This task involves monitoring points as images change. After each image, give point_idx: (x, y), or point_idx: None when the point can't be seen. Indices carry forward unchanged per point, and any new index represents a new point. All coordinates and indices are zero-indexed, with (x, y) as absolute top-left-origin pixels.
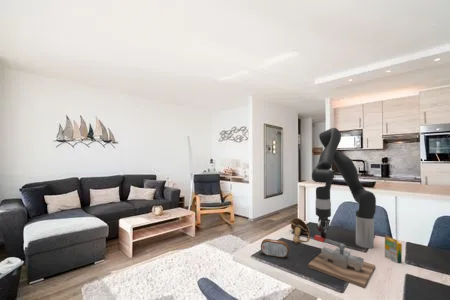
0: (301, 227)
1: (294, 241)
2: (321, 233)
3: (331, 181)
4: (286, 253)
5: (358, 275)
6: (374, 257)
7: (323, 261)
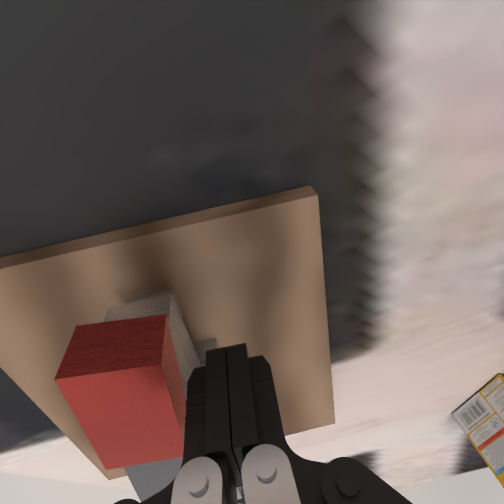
0: None
1: None
2: (184, 451)
3: None
4: None
5: None
6: (457, 361)
7: (103, 312)
